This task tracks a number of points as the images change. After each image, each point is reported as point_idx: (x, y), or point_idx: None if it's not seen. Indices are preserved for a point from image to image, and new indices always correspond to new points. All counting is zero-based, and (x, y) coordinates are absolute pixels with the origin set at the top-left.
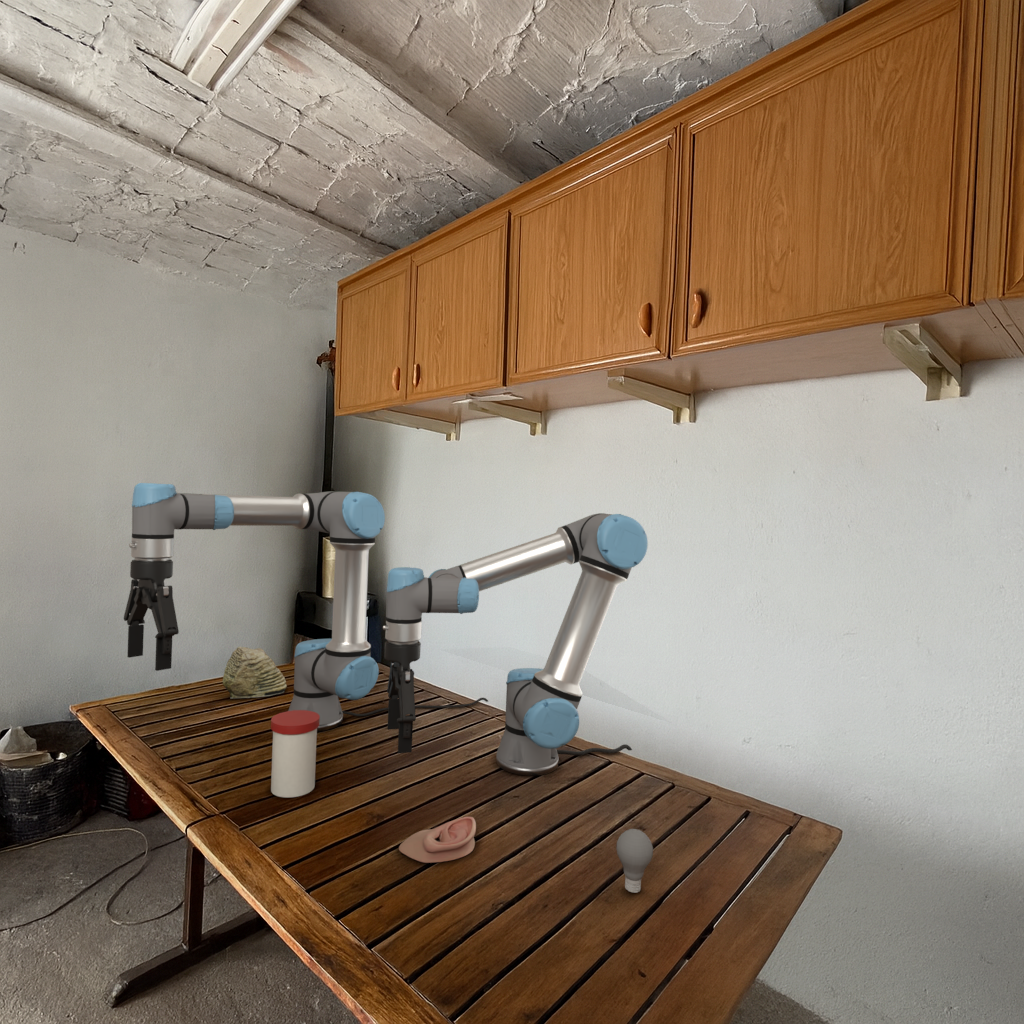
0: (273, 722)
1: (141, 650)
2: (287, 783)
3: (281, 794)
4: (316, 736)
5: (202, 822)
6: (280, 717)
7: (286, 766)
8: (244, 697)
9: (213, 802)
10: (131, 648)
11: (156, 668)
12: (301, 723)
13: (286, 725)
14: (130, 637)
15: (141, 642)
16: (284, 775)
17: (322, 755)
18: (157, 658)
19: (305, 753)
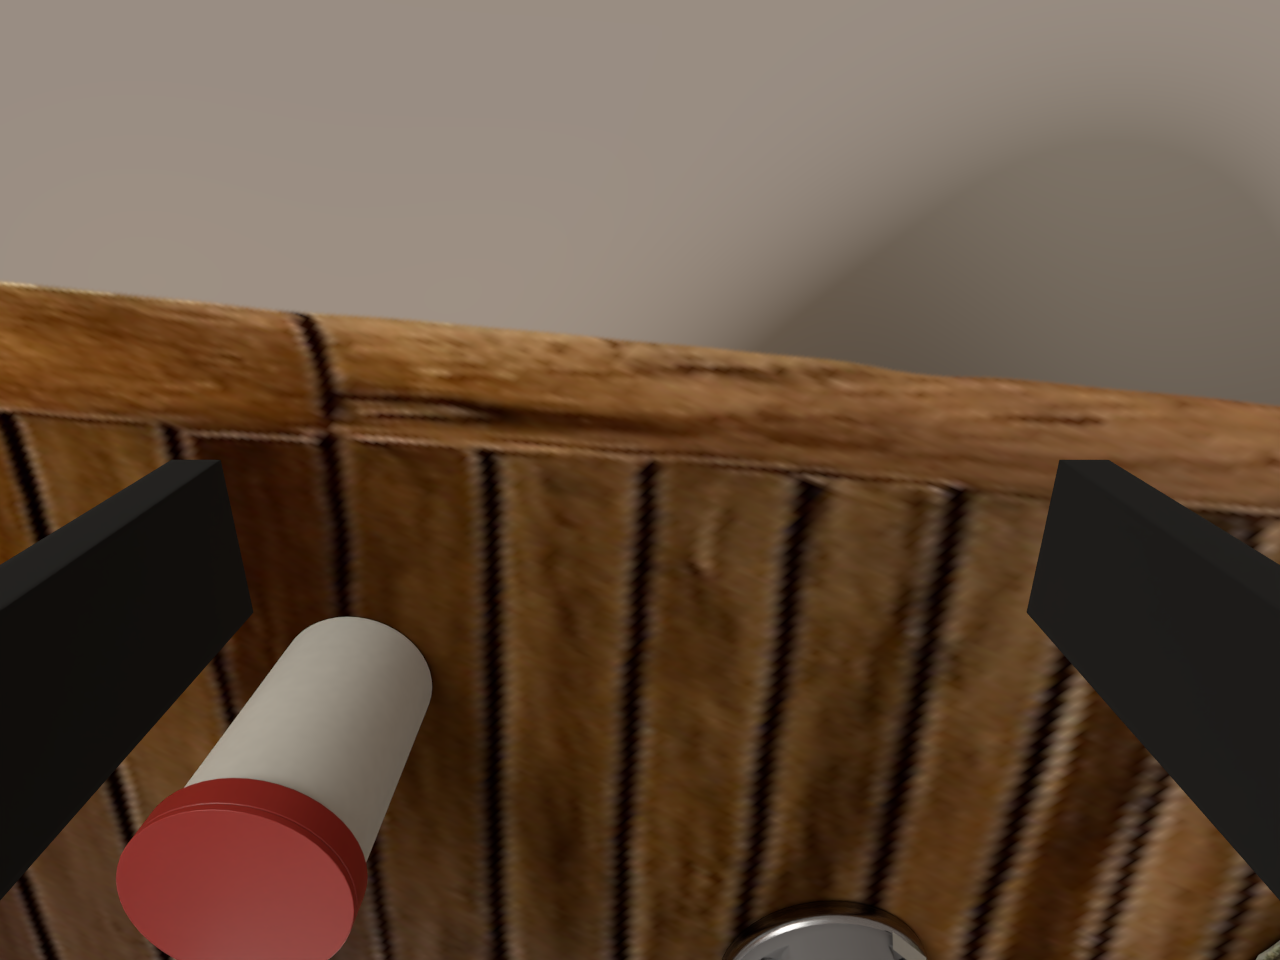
0: (229, 812)
1: (1067, 635)
2: (278, 663)
3: (310, 628)
4: None
5: (298, 360)
6: (282, 861)
7: (251, 700)
8: (1272, 947)
9: (429, 454)
10: (1122, 539)
11: (166, 469)
12: (141, 882)
13: (150, 830)
14: (1263, 617)
15: (1133, 704)
16: (273, 674)
17: (537, 856)
18: (62, 530)
19: None
